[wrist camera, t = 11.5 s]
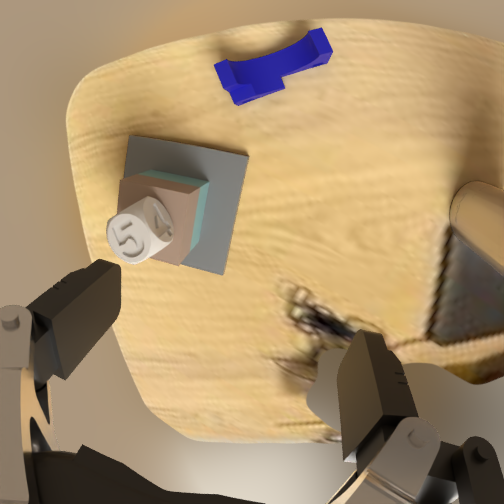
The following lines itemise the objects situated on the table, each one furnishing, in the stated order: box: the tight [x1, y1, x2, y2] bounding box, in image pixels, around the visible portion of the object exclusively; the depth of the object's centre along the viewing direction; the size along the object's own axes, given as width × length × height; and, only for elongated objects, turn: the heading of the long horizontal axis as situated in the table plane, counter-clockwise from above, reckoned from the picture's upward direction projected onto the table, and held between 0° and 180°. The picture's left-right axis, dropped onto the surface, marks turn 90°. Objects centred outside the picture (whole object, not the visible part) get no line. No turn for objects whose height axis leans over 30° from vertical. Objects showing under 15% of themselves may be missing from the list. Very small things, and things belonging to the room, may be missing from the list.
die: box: [106, 196, 174, 265], centre depth 29 cm, size 5×5×5 cm
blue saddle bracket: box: [214, 28, 333, 106], centre depth 30 cm, size 12×4×6 cm, turn 112°
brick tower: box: [117, 135, 249, 275], centre depth 36 cm, size 16×16×9 cm
